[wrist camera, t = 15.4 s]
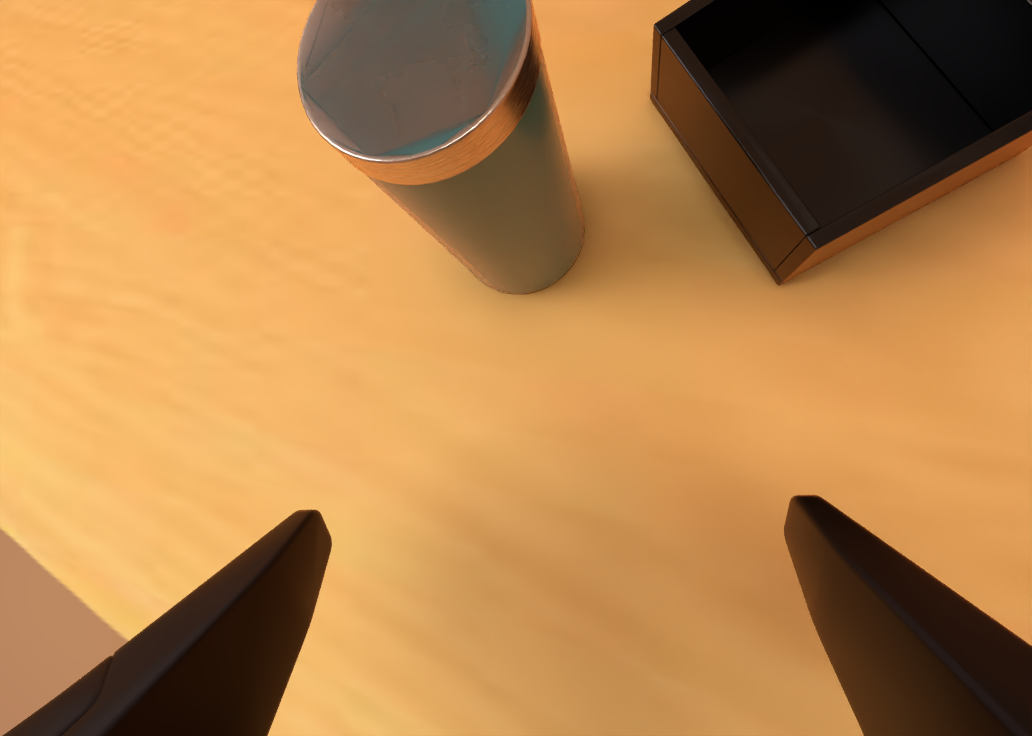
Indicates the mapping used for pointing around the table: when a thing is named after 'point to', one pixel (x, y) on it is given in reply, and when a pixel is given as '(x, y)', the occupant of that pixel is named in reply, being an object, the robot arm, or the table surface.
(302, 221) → the table surface
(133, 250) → the table surface
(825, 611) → the robot arm
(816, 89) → the tray
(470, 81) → the tin
